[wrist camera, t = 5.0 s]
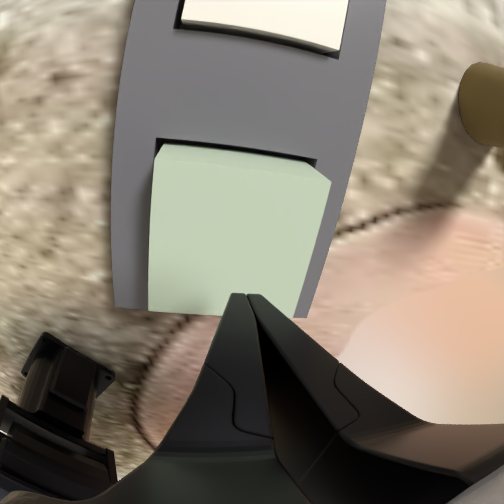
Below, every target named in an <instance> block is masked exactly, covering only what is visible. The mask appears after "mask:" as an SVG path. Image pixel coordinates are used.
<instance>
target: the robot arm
mask: <svg viewBox="0 0 504 504" xmlns="http://www.w3.org/2000/svg"><path fill="white" fill-rule="evenodd" d="M21 373H22V374H23V376H25V377H26V380H25V383H24V385H23V388H22V391H21V394H20V396H19V399H18V402H17V405H16V404H15V403H13V402H11V401H10V400H9V398H7V397H6V396H4V395H2V396H1V398H0V430H2V431H3V432H5V433H7V435H5V434H3V433H2V432H0V504H504V424H484V425H453V424H452V425H451V424H449V425H448V424H435V423H430V422H427V421H423V420H421V419H419V418H417V417H416V416H414V415H412V414H411V413H409V412H408V411H406V410H405V409H403V408H402V407H400V406H398V405H397V404H396V403H394V402H393V401H391V400H390V399H388V398H387V397H385V396H384V395H382V394H381V393H379V392H378V391H376V390H375V389H374V388H372V387H371V386H370V385H368V384H367V383H365V382H364V381H363V380H361V379H360V378H359V377H357V376H356V375H355V374H354V373H353V372H351V371H350V370H349V369H348V368H346V367H345V366H344V365H343V364H342V363H339V361H338V360H337V359H336V358H335V357H333V356H332V355H331V354H330V353H329V352H327V351H326V350H325V349H324V348H323V347H322V346H320V345H319V344H318V343H317V342H316V341H314V340H313V339H312V338H311V337H310V336H309V335H307V334H306V333H305V332H304V331H303V330H302V329H300V328H299V327H298V326H297V325H296V324H295V323H294V322H292V321H291V320H290V319H289V318H288V317H287V316H285V315H284V314H283V313H282V312H281V311H280V310H279V309H277V308H276V307H275V306H274V305H273V304H272V303H270V302H269V301H268V300H267V299H266V298H265V297H264V296H262V295H261V294H250V293H248V294H247V295H246V294H245V293H231V294H230V297H229V299H228V302H227V305H226V307H225V310H224V312H223V315H222V318H221V320H220V323H219V325H218V328H217V330H216V333H215V336H214V338H213V341H212V343H211V346H210V349H209V351H208V354H207V356H206V359H205V362H204V364H203V366H202V369H201V372H200V374H199V377H198V379H197V381H196V384H195V386H194V388H193V390H192V392H191V394H190V396H189V397H188V399H187V401H186V403H185V405H184V406H183V408H182V409H181V411H180V413H179V414H178V416H177V417H176V419H175V421H174V422H173V424H172V425H171V427H170V429H169V430H168V432H167V433H166V435H165V437H164V438H163V440H162V441H161V443H160V444H159V446H158V447H157V448H156V450H155V451H154V452H153V453H152V455H151V456H150V457H149V458H148V459H147V460H146V461H145V462H144V463H142V464H141V465H140V466H138V467H137V468H136V469H134V470H133V471H132V472H130V473H129V474H128V475H126V476H125V477H123V478H122V479H121V480H119V481H118V480H117V473H116V466H115V458H114V451H112V450H109V449H107V448H106V449H104V448H101V447H99V446H97V445H94V444H92V443H90V442H88V440H89V434H90V427H91V421H92V416H93V410H94V404H95V399H96V398H97V397H98V396H99V395H100V394H101V393H102V392H103V391H104V390H105V389H106V388H107V387H108V386H109V385H110V384H111V383H112V382H113V381H114V380H115V373H114V372H113V371H111V370H109V369H107V368H106V367H104V366H102V365H100V364H98V363H97V362H95V361H93V360H91V359H90V358H88V357H86V356H84V355H83V354H81V353H79V352H78V351H76V350H74V349H73V348H71V347H70V346H68V345H66V344H65V343H63V342H62V341H60V340H58V339H57V338H55V337H54V336H52V335H51V334H49V333H47V332H43V333H42V334H41V336H40V337H39V339H38V341H37V343H36V344H35V346H34V348H33V350H32V352H31V353H30V355H29V357H28V359H27V361H26V363H25V365H24V366H23V369H22V371H21Z"/></svg>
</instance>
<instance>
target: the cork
mask: <svg viewBox="0 0 504 504" xmlns="http://www.w3.org/2000/svg"><path fill="white" fill-rule="evenodd" d="M459 111H460V115H461V119H462V123H463V125H464V127H465V129H466V131H467V133H468V134H469V135H470V136H471V137H472V138H473V139H474V141H476V142H479V143H481V144H484V145H490V146H495V147H500V148H504V68H501V67H498V66H495V65H491V64H488V63H482V62H478V63H476V64H473V65H471V66H470V67H469V68H468V69H467V71H466V72H465V73H464V76H463V78H462V80H461V83H460V90H459Z"/></svg>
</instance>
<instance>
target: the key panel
mask: <svg viewBox="0 0 504 504" xmlns="http://www.w3.org/2000/svg"><path fill="white" fill-rule="evenodd" d="M184 4H185V0H135V3H134V7H133V11H132V16H131V21H130V25H129V30H128V35H127V41H126V46H125V52H124V58H123V64H122V70H121V77H120V84H119V92H118V100H117V109H116V119H115V130H114V143H113V158H112V179H111V255H112V277H113V292H114V305H115V307H118V308H128V309H139V310H148V266H149V233H150V213H151V197H152V183H153V171H154V160H155V157H156V156H157V154H158V152H159V151H160V149H161V147H162V146H163V144H164V143H174V144H185V145H195V146H205V147H213V148H222V149H230V150H238V151H245V152H252V153H259V154H266V155H272V156H278V157H284V158H290V159H296V160H302V161H305V162H306V163H308V164H309V165H310V166H312V167H313V168H314V169H316V170H317V171H318V172H320V173H321V174H322V175H323V176H325V177H326V178H327V179H329V180H330V181H331V182H332V183H331V187H330V190H329V194H328V198H327V202H326V206H325V209H324V213H323V217H322V220H321V224H320V228H319V231H318V235H317V238H316V242H315V246H314V249H313V253H312V256H311V259H310V263H309V266H308V270H307V273H306V276H305V280H304V283H303V286H302V290H301V293H300V296H299V299H298V303H297V306H296V309H295V312H294V315H293V318H307V315H308V312H309V309H310V306H311V303H312V300H313V297H314V294H315V291H316V288H317V285H318V282H319V279H320V276H321V273H322V270H323V267H324V263H325V260H326V257H327V254H328V251H329V247H330V244H331V241H332V237H333V234H334V231H335V227H336V224H337V220H338V217H339V213H340V210H341V206H342V203H343V199H344V196H345V192H346V188H347V185H348V181H349V177H350V173H351V170H352V166H353V162H354V158H355V154H356V150H357V146H358V142H359V138H360V133H361V129H362V125H363V121H364V116H365V112H366V107H367V103H368V98H369V94H370V89H371V84H372V79H373V74H374V69H375V64H376V59H377V54H378V48H379V43H380V37H381V31H382V25H383V19H384V13H385V6H386V0H348V6H347V11H346V17H345V22H344V28H343V33H342V38H341V44H340V49H339V50H338V51H333V52H328V53H323V54H316V53H313V52H309V51H305V50H301V49H297V48H293V47H289V46H285V45H280V44H276V43H271V42H266V41H261V40H256V39H250V38H245V37H239V36H232V35H226V34H219V33H211V32H202V31H193V30H184V28H183V24H182V20H181V18H182V13H183V9H184Z"/></svg>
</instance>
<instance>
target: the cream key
mask: <svg viewBox="0 0 504 504" xmlns="http://www.w3.org/2000/svg"><path fill="white" fill-rule="evenodd" d="M347 6H348V0H185V4H184V9H183V13H182V18H181V20H182V24H183V28H184V30H193V31H202V32H211V33H219V34H226V35H232V36H239V37H245V38H250V39H256V40H261V41H266V42H271V43H276V44H280V45H285V46H289V47H293V48H297V49H301V50H305V51H309V52H313V53H316V54H323V53H328V52H333V51H338V50H339V49H340V44H341V38H342V33H343V28H344V22H345V17H346V11H347Z"/></svg>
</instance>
